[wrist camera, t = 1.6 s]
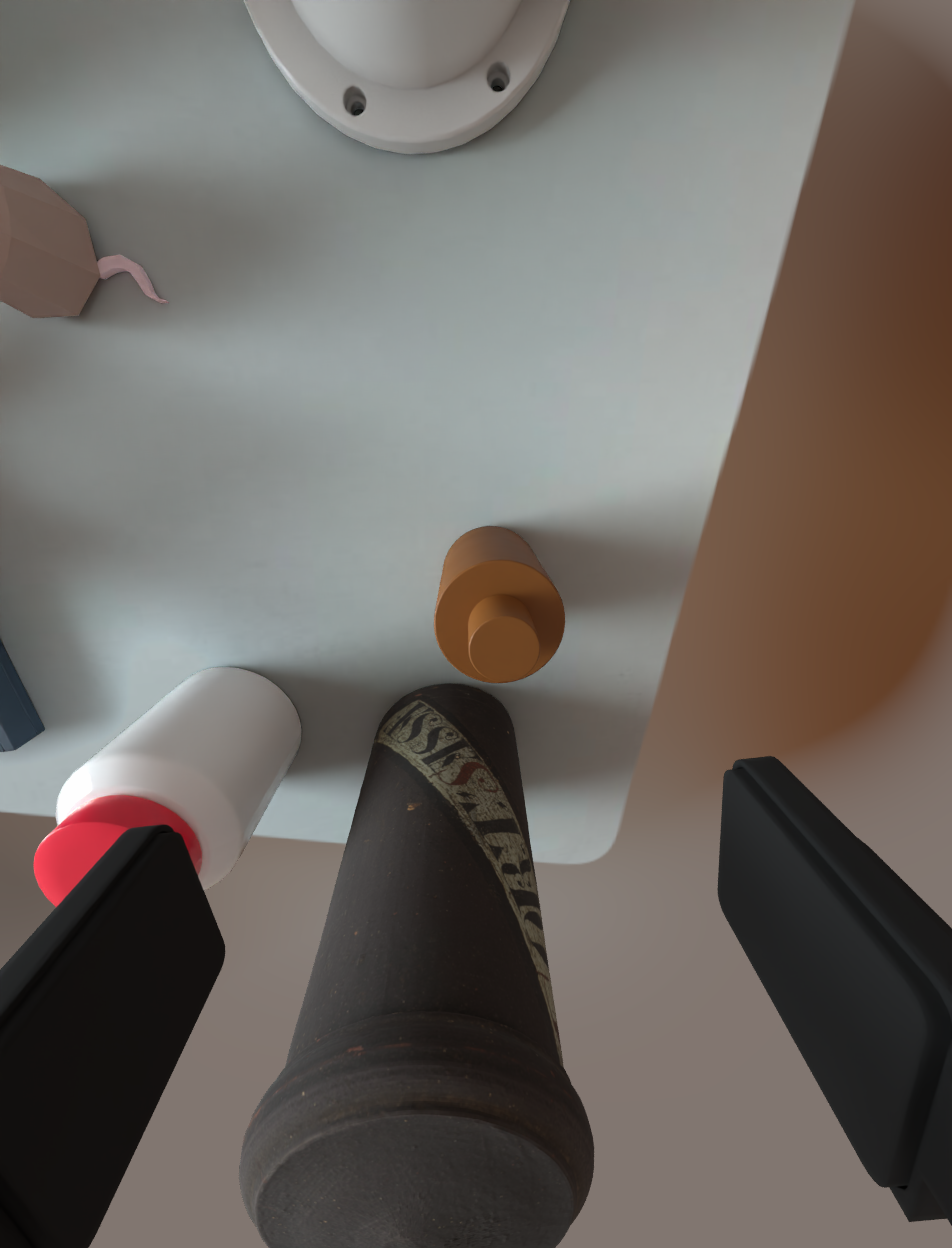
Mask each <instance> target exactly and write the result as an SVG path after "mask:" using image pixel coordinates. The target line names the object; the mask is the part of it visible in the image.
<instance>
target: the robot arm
mask: <svg viewBox="0 0 952 1248" xmlns="http://www.w3.org/2000/svg"><path fill="white" fill-rule="evenodd" d="M244 2H245V5H246V7H247V10H248V12H249V14H250V17H251V19H252V22H253V24H254V26H255V28H256V30H257V31H258V33H259V35H260V37H261V39H262V41H263V43H264V45H265V47H266V49H267V51H268V53H269V55H270V56H271V58H272V59H273V61H274V62H275V64H276V65H277V67H278V68H279V70H280V71H281V73H282V74H283V75H284V77H285V78H286V80H287V81H288V83H289V84H290V86H291V87H292V88H293V90H294V91H295V92H296V93H297V94H298V95H299V96H300V97H301V98H302V99H303V100H304V101H305V102H306V103H307V104H308V105H309V106H310V107H311V108H312V109H313V110H314V112H315V113H316V114H317V115H318V116H320V117H321V118H322V119H324V120H325V121H327V122H328V123H329V124H331V125H332V126H334V127H335V128H336V129H338V130H339V131H341V132H342V133H343V134H345V135H346V136H348V137H351V138H353V139H355V140H357V141H360V142H362V143H364V144H366V145H369V146H371V147H373V148H376V149H381V150H386V151H391V152H396V153H401V154H422V153H436V152H440V151H443V150H446V149H450V148H453V147H457V146H460V145H463V144H465V143H467V142H469V141H471V140H472V139H474V138H476V137H478V136H479V135H481V134H483V133H485V132H487V131H488V130H490V129H491V128H493V127H494V126H495V125H496V124H497V123H498V122H499V121H500V120H502V119H503V118H504V117H505V116H506V115H507V114H508V113H509V112H511V111H512V110H513V109H514V108H515V107H516V106H517V105H518V103H519V102H520V101H521V99H522V98H523V97H524V95H525V94H526V93H527V92H528V90H529V89H530V88H531V86H532V85H533V84H534V83H535V81H536V80H537V78H538V77H539V75H540V73H541V71H542V69H543V67H544V65H545V63H546V61H547V60H548V58H549V56H550V54H551V52H552V50H553V48H554V46H555V44H556V41H557V38H558V35H559V33H560V30H561V27H562V24H563V21H564V18H565V15H566V12H567V9H568V6H569V2H570V0H244ZM496 85H498V86H500V87H501V88H502V89H503V91H501V92H497V91H494V90H493V89H492V88H493V87H494V86H496ZM358 108H359V109H363V110H364V112H363V113H362V114H360V115H358V116H354V115H353V114H354V112H355V110H357V109H358ZM718 897H719V902H720V905H721V908H722V911H723V913H724V915H725V917H726V919H727V921H728V922H729V924H730V926H731V928H732V930H733V931H734V933H735V935H736V937H737V939H738V940H739V942H740V944H741V946H742V948H743V949H744V951H745V953H746V955H747V957H748V959H749V960H750V962H751V964H752V966H753V968H754V969H755V971H756V973H757V975H758V976H759V978H760V980H761V982H762V984H763V986H764V987H765V989H766V991H767V993H768V995H769V996H770V998H771V1000H772V1002H773V1003H774V1005H775V1007H776V1009H777V1011H778V1013H779V1014H780V1016H781V1018H782V1020H783V1022H784V1023H785V1025H786V1027H787V1029H788V1030H789V1032H790V1034H791V1036H792V1038H793V1040H794V1041H795V1043H796V1045H797V1047H798V1049H799V1050H800V1052H801V1054H802V1056H803V1058H804V1059H805V1061H806V1063H807V1065H808V1067H809V1068H810V1070H811V1072H812V1074H813V1076H814V1078H815V1079H816V1081H817V1083H818V1085H819V1086H820V1088H821V1090H822V1092H823V1094H824V1095H825V1097H826V1099H827V1101H828V1103H829V1104H830V1106H831V1108H832V1110H833V1112H834V1114H835V1115H836V1117H837V1119H838V1121H839V1122H840V1124H841V1126H842V1128H843V1130H844V1132H845V1133H846V1135H847V1137H848V1139H849V1141H850V1142H851V1144H852V1146H853V1148H854V1150H855V1151H856V1153H857V1155H858V1157H859V1159H860V1160H861V1162H862V1164H863V1165H864V1167H865V1169H866V1170H867V1172H868V1174H869V1175H870V1176H871V1177H872V1179H873V1180H874V1181H875V1182H876V1183H877V1184H878V1185H879V1186H881V1187H890V1189H891V1190H892V1193H893V1194H894V1196H895V1198H896V1200H897V1201H898V1203H899V1205H900V1207H901V1208H902V1210H903V1212H904V1214H905V1215H906V1217H907V1219H908V1221H909V1222H912V1221H923V1220H935V1219H948V1220H949V1222H950V1224H951V1225H952V929H951V927H950V926H949V925H948V924H946V922H945V921H944V920H942V918H941V917H939V915H937V914H936V913H935V912H934V911H933V910H932V909H931V908H930V907H929V906H928V905H927V904H926V903H925V902H924V901H923V900H922V899H921V898H920V897H919V896H918V895H917V894H916V893H915V892H914V891H913V890H912V889H911V888H910V887H909V886H908V885H907V884H906V883H905V882H904V881H903V880H902V879H901V878H900V877H899V876H898V875H897V874H896V873H895V872H894V871H893V870H892V869H891V868H890V867H889V866H888V865H887V864H886V863H885V862H884V861H883V860H882V859H880V857H879V856H878V855H877V854H876V853H875V852H874V851H873V850H872V849H870V848H869V847H868V846H867V845H866V844H865V843H863V842H862V841H861V840H860V839H859V838H857V837H856V836H855V835H854V834H853V833H852V832H851V831H850V830H849V829H848V828H847V827H846V826H845V825H844V824H843V823H842V822H841V821H840V820H839V819H837V817H836V816H834V815H833V813H832V812H831V811H830V810H829V809H828V808H827V807H826V806H825V805H824V804H822V802H821V801H819V800H818V798H817V797H815V796H814V795H813V793H811V792H810V791H809V790H808V789H807V788H806V787H805V786H804V785H803V784H802V783H801V782H800V781H799V780H798V779H797V778H796V777H795V776H794V775H793V774H792V773H791V772H790V771H789V770H788V769H787V768H786V767H785V766H784V765H783V764H782V763H781V762H780V761H779V760H778V759H776V758H775V757H772V756H767V757H759V758H749V759H741V760H737V761H735V763H734V765H733V769H732V770H727V771H726V772H725V774H724V781H723V800H722V817H721V836H720V855H719V874H718ZM224 958H225V944H224V941H223V938H222V936H221V933H220V930H219V928H218V926H217V923H216V920H215V918H214V916H213V913H212V910H211V908H210V905H209V903H208V900H207V898H206V895H205V893H204V890H203V887H202V885H201V882H200V880H199V877H198V875H197V872H196V870H195V867H194V865H193V862H192V860H191V857H190V854H189V852H188V849H187V847H186V844H185V842H184V839H183V837H182V835H181V834H180V833H178V832H174V830H173V829H172V827H170V826H169V825H165V824H161V825H152V826H143V827H134V828H131V829H128V830H126V831H125V832H124V833H123V834H122V835H121V836H120V837H119V838H118V839H117V840H116V841H115V842H114V844H113V845H112V846H111V847H110V848H109V849H108V850H107V851H106V852H105V854H104V855H103V856H102V857H101V858H100V859H99V860H98V861H97V863H96V864H95V865H94V866H93V867H92V868H91V869H90V870H89V871H88V873H87V874H86V875H85V876H84V877H83V878H82V879H81V880H80V881H79V883H78V884H77V885H76V886H75V887H74V888H73V889H72V890H71V892H70V893H69V894H68V895H67V896H66V897H65V898H64V899H63V900H62V902H61V903H60V904H59V905H58V906H57V907H56V908H55V909H54V911H53V912H52V913H51V914H50V915H49V916H48V917H47V918H46V920H45V921H44V922H43V923H42V924H41V925H40V926H39V927H38V928H37V929H36V931H35V932H34V933H33V934H32V935H31V936H30V937H29V938H28V939H27V941H26V942H25V943H24V944H23V945H22V946H21V947H20V948H19V950H18V951H17V952H16V953H15V954H14V955H13V956H12V958H11V959H10V960H9V961H8V962H7V963H6V964H5V965H4V966H3V967H2V968H1V970H0V1248H88V1247H89V1246H90V1244H91V1242H92V1240H93V1239H94V1237H95V1235H96V1233H97V1231H98V1229H99V1227H100V1224H101V1222H102V1220H103V1218H104V1216H105V1214H106V1212H107V1210H108V1208H109V1205H110V1203H111V1201H112V1199H113V1197H114V1195H115V1193H116V1191H117V1188H118V1186H119V1184H120V1182H121V1180H122V1178H123V1176H124V1174H125V1171H126V1169H127V1167H128V1165H129V1163H130V1161H131V1159H132V1156H133V1155H134V1152H135V1150H136V1148H137V1146H138V1144H139V1142H140V1140H141V1138H142V1135H143V1133H144V1131H145V1129H146V1127H147V1125H148V1123H149V1121H150V1119H151V1117H152V1114H153V1112H154V1110H155V1108H156V1106H157V1104H158V1102H159V1100H160V1097H161V1095H162V1093H163V1091H164V1089H165V1087H166V1085H167V1082H168V1081H169V1078H170V1076H171V1074H172V1072H173V1070H174V1068H175V1066H176V1064H177V1061H178V1059H179V1057H180V1055H181V1053H182V1051H183V1049H184V1046H185V1044H186V1042H187V1040H188V1038H189V1036H190V1034H191V1032H192V1030H193V1028H194V1026H195V1023H196V1021H197V1019H198V1017H199V1015H200V1013H201V1011H202V1009H203V1006H204V1004H205V1002H206V1000H207V998H208V996H209V994H210V992H211V990H212V987H213V985H214V983H215V981H216V979H217V976H218V975H219V973H220V970H221V968H222V965H223V962H224Z"/></svg>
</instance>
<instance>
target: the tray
mask: <svg viewBox="0 0 952 1248" xmlns="http://www.w3.org/2000/svg"><path fill="white" fill-rule="evenodd" d="M44 730H45V728H44V726H43V724H42V722H41V720H40V718H39V716H38V714H37V712H36V710H35V708H34V706H33V704H32V702H31V700H30V698H29V696H28V694H27V692H26V690H25V688H24V686H23V684H22V682H21V680H20V678H19V676H18V674H17V672H16V670H15V668H14V666H13V664H12V662H11V660H10V658H9V656H8V654H7V652H6V650H5V648H4V646H3V644H2V642H1V640H0V752H5V751H13V750H16V749H18V748H19V747H21V746H22V745H24V744H25V743H27V742H28V741H30V740H31V739H32V738H34V737H35V736H37V735H38V734H40V733H41V732H43V731H44Z"/></svg>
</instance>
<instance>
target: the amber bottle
mask: <svg viewBox="0 0 952 1248" xmlns="http://www.w3.org/2000/svg"><path fill="white" fill-rule="evenodd" d="M564 628H565V612H564V606H563V603H562V599H561V597H560V595H559V593H558V591H557V589H556V588H555V586H554V585H553V583H552V581H551V580H550V578H549V577H548V575H547V573H546V572H545V570H544V569H543V567H542V565H541V564H540V562H539V561H538V559H537V557H536V556H535V554H534V553H533V551H532V549H531V548H530V546H529V545H528V544H527V542H526V541H525V540H524V539H523V538H522V537H520V536H519V535H518V534H516V533H515V532H513V531H511V530H508V529H505V528H502V527H497V526H486V527H480V528H476V529H473V530H471V531H469V532H467V533H465V534H464V535H462V536H461V537H460V538H459V539H458V540H456V541H455V543H454V544H453V545H452V546H451V548H450V549H449V551H448V553H447V555H446V558H445V561H444V566H443V571H442V577H441V582H440V588H439V593H438V598H437V604H436V609H435V615H434V630H435V636H436V640H437V642H438V645H439V647H440V649H441V651H442V653H443V654H444V656H445V657H446V659H447V660H448V661H449V662H450V663H451V664H452V665H453V666H454V667H455V668H456V669H458V670H459V671H460V672H462V673H464V674H465V675H467V676H469V677H471V678H474V679H476V680H480V681H483V682H489V683H507V682H513V681H517V680H520V679H523V678H525V677H527V676H530V675H532V674H533V673H535V672H536V671H538V670H539V669H541V668H542V667H543V666H544V665H545V664H546V663H547V662H548V661H549V660H550V659H551V658H552V656H553V655H554V654H555V652H556V650H557V649H558V647H559V645H560V642H561V640H562V637H563V633H564Z"/></svg>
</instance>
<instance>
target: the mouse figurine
mask: <svg viewBox="0 0 952 1248" xmlns="http://www.w3.org/2000/svg"><path fill="white" fill-rule="evenodd" d="M125 271H128V272H130V273H131V274H132V275H133V277H134V278H135V279H136V281H137V283H138V284H139V286H140V287H141V289H142V291H143V292H144V294H145V295H147V296H149V297H150V298H152V299H154V300H156V301H157V302H159V303H169V302H168V301H166V300H163V299H160V298H159V297H158V296H157V295H156V294H155V292H154V289H153V286H152V283H151V281H150V280H149V278H148V276H147V274H146V273H145V271H144V269H143V267H142V266H140V265H138V264H137V263H135V262H133V261H131V260H129V259H127V258H125V257H123V256H122V255H114V256H107V257H103V258H101V259H100V260H99V261H97V260H96V256H95V253H94V249H93V245H92V241H91V237H90V234H89V230H88V226H87V222H86V219H85V218H84V217H83V216H82V215H80V214H79V213H78V212H77V211H76V210H75V209H74V208H72V207H71V206H70V205H69V204H68V203H67V202H66V201H65V200H63V199H62V198H61V197H60V196H59V195H58V194H57V193H55V192H54V191H53V190H52V189H51V188H50V187H49V186H47V185H46V184H45V183H44V182H43V181H42V180H41V179H39V178H36V177H34V176H31V175H28V174H25V173H22V172H20V171H17V170H14V169H11V168H8V167H5V166H3V165H0V301H2V302H4V303H6V304H8V305H10V306H12V307H13V308H15V309H17V310H19V311H21V312H23V313H24V314H26V315H28V316H30V317H32V318H44V317H61V316H78V315H79V314H80V312H81V310H82V308H83V306H84V305H85V303H86V301H87V299H88V297H89V296H90V294H91V292H92V290H93V288H94V287H95V285H96V283H97V281H98V279H99V278H102V279H107V278H109V277H111V276H113V275H114V274H116V273H118V272H125Z"/></svg>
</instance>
